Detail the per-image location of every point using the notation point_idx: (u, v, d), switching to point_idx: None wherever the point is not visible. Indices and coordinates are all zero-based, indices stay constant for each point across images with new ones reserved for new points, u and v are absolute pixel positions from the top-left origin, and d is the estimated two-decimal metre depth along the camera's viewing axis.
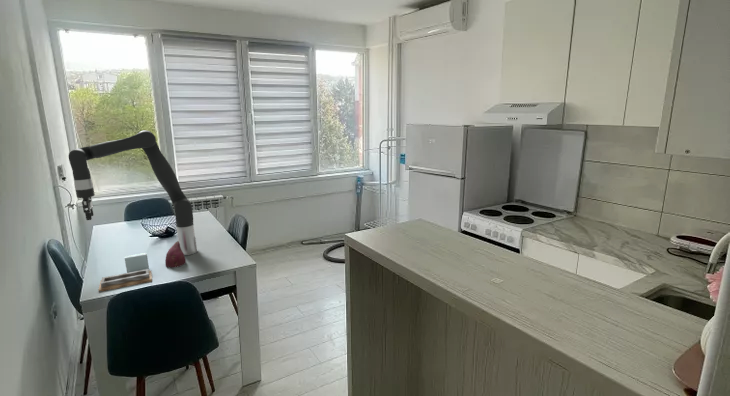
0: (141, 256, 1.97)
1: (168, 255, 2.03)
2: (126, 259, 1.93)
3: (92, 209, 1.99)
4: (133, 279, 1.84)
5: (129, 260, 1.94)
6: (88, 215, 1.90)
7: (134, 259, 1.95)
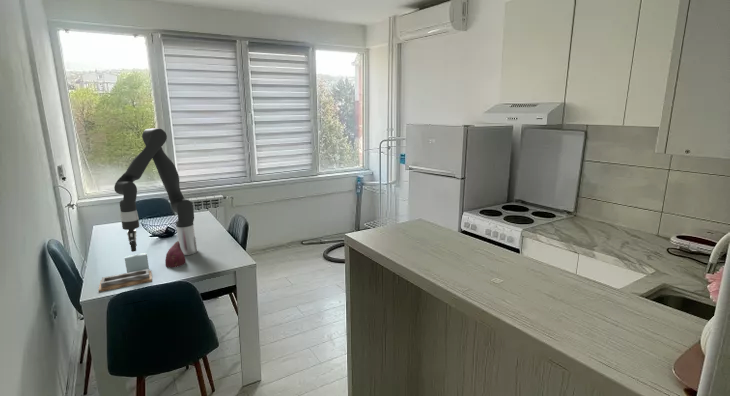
0: (141, 256, 1.97)
1: (168, 255, 2.03)
2: (126, 259, 1.93)
3: (135, 239, 1.99)
4: (133, 279, 1.84)
5: (129, 260, 1.94)
6: (133, 247, 1.91)
7: (134, 259, 1.95)
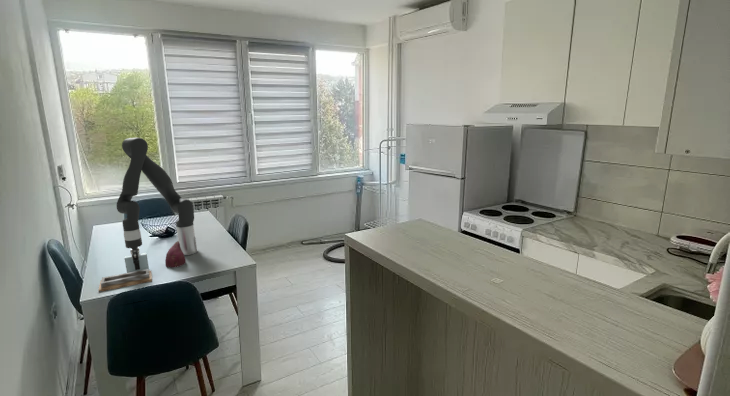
0: (141, 256, 1.97)
1: (168, 255, 2.03)
2: (126, 259, 1.93)
3: None
4: (133, 279, 1.84)
5: (129, 260, 1.94)
6: (137, 265, 1.95)
7: None
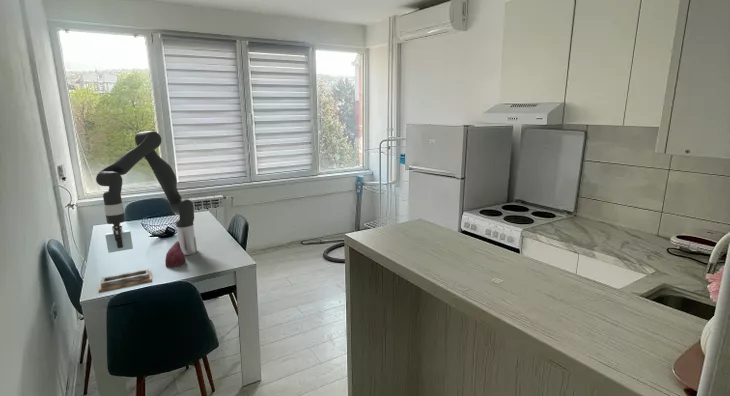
0: (124, 233, 1.80)
1: (168, 255, 2.03)
2: (107, 236, 1.77)
3: None
4: (133, 279, 1.84)
5: (111, 237, 1.78)
6: (119, 243, 1.79)
7: None
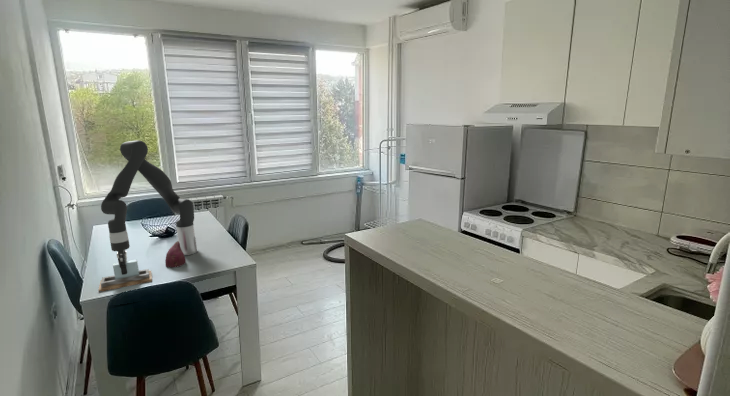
0: (131, 263, 1.84)
1: (168, 255, 2.03)
2: (114, 267, 1.81)
3: None
4: (133, 279, 1.84)
5: (118, 267, 1.82)
6: (124, 269, 1.82)
7: None
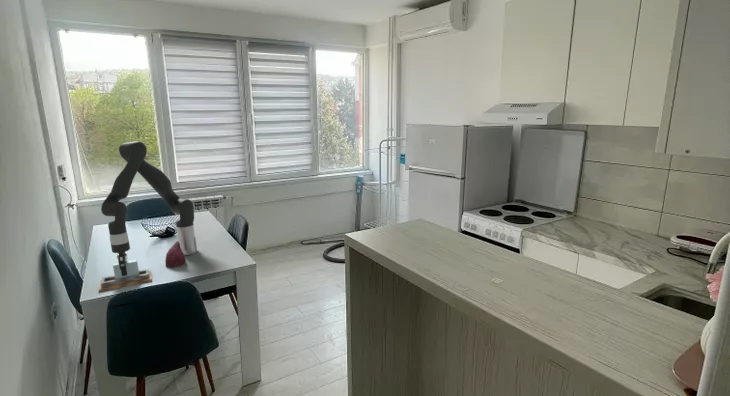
0: (131, 263, 1.84)
1: (168, 255, 2.03)
2: (114, 267, 1.81)
3: None
4: (133, 279, 1.84)
5: (118, 267, 1.82)
6: (124, 271, 1.80)
7: None
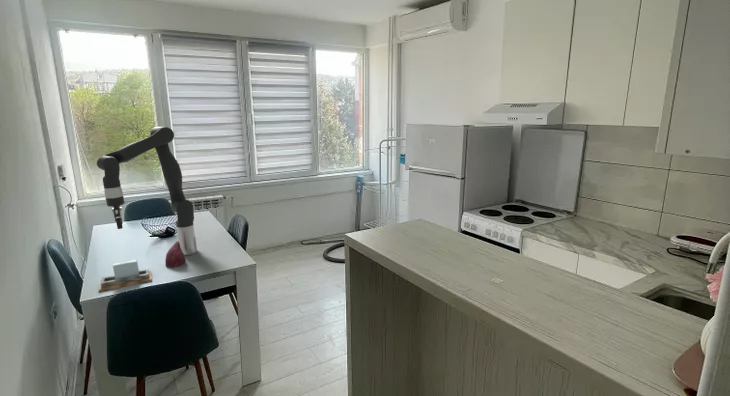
0: (131, 263, 1.84)
1: (168, 255, 2.03)
2: (114, 267, 1.81)
3: (121, 217, 1.94)
4: (133, 279, 1.84)
5: (118, 267, 1.82)
6: (119, 224, 1.86)
7: (123, 266, 1.83)
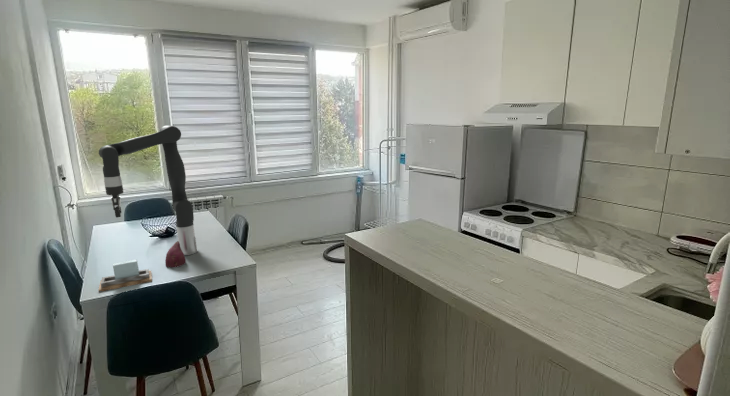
0: (131, 263, 1.84)
1: (168, 255, 2.03)
2: (114, 267, 1.81)
3: (120, 206, 1.98)
4: (133, 279, 1.84)
5: (118, 267, 1.82)
6: (117, 212, 1.90)
7: (123, 266, 1.83)
